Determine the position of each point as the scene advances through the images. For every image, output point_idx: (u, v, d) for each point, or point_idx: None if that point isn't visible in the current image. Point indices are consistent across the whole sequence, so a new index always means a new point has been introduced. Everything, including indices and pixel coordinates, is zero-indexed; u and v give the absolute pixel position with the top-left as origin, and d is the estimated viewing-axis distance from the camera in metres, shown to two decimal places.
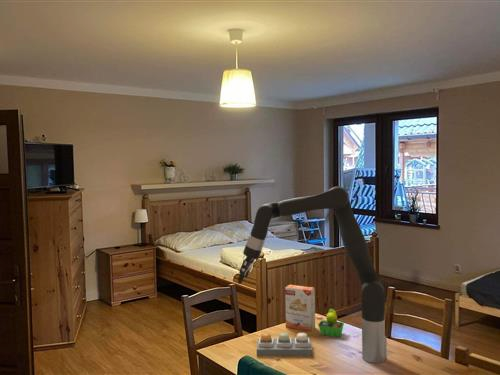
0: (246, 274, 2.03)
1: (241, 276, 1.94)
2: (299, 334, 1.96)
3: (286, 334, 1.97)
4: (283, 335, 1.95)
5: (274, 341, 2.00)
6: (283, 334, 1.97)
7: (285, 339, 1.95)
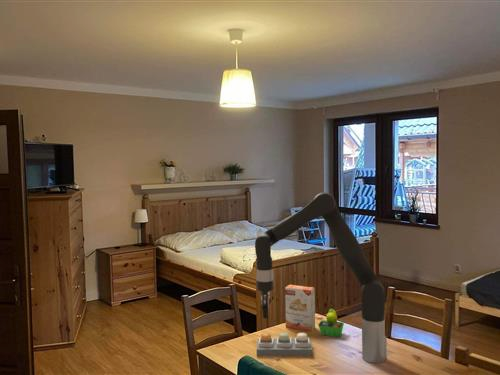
0: None
1: (265, 312, 1.95)
2: (299, 334, 1.96)
3: (286, 334, 1.97)
4: (283, 335, 1.95)
5: (274, 341, 2.00)
6: (283, 334, 1.97)
7: (285, 339, 1.95)
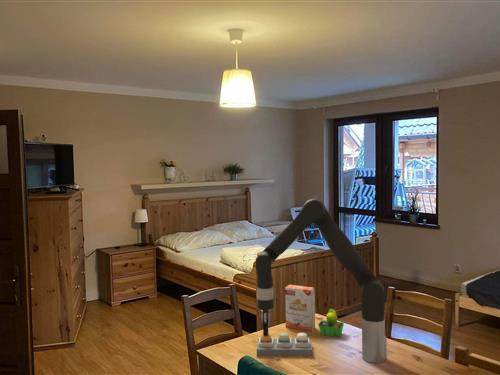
0: None
1: (265, 330, 1.96)
2: (299, 334, 1.96)
3: (286, 334, 1.97)
4: (283, 335, 1.95)
5: (274, 341, 2.00)
6: (283, 334, 1.97)
7: (285, 339, 1.95)
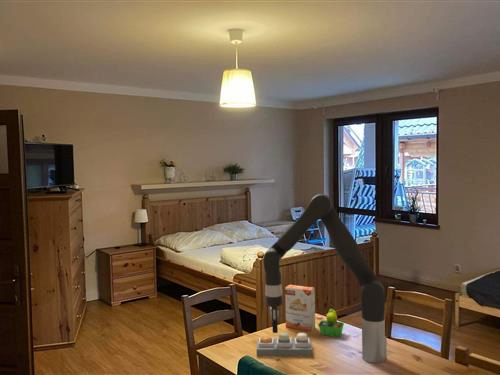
0: None
1: (275, 327, 1.95)
2: (299, 334, 1.96)
3: (286, 334, 1.97)
4: (283, 335, 1.95)
5: (274, 341, 2.00)
6: (283, 334, 1.97)
7: (285, 339, 1.95)
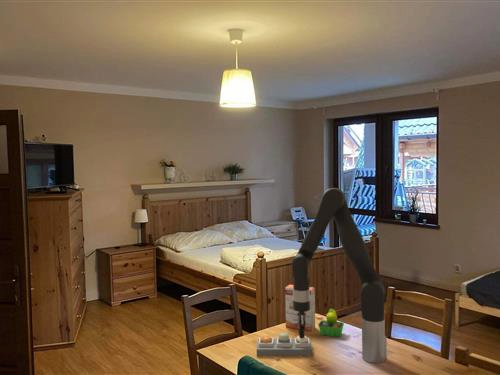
0: None
1: (302, 332, 1.95)
2: (299, 337, 1.96)
3: (286, 334, 1.97)
4: (283, 335, 1.95)
5: (274, 341, 2.00)
6: (283, 334, 1.97)
7: (285, 339, 1.95)
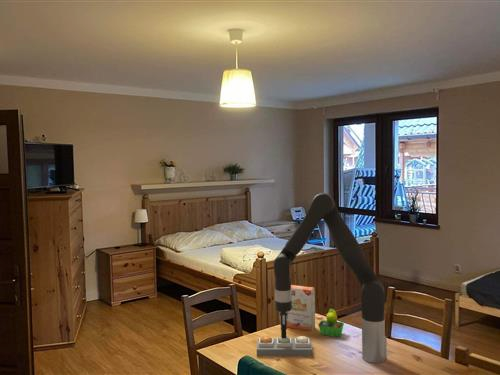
0: None
1: (283, 332, 1.95)
2: (299, 337, 1.96)
3: (286, 337, 1.97)
4: (283, 338, 1.95)
5: (274, 341, 2.00)
6: None
7: (285, 342, 1.95)
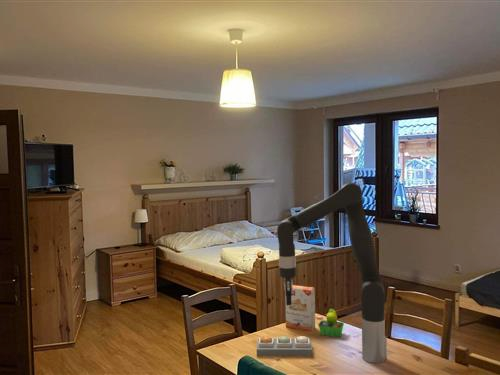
0: None
1: (288, 299, 1.93)
2: (299, 337, 1.96)
3: (286, 337, 1.97)
4: (283, 339, 1.96)
5: (274, 341, 2.00)
6: (283, 338, 1.97)
7: (285, 342, 1.95)
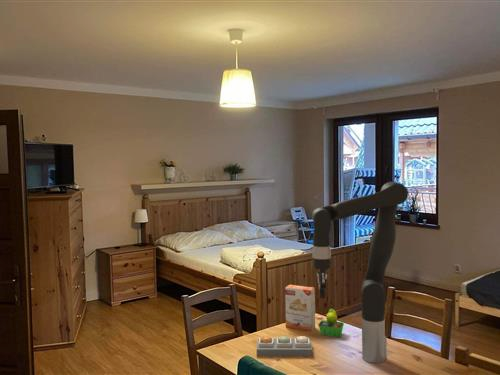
0: None
1: (322, 291, 1.83)
2: (299, 337, 1.96)
3: (286, 337, 1.97)
4: (283, 339, 1.96)
5: (274, 341, 2.00)
6: (283, 338, 1.97)
7: (285, 342, 1.95)
